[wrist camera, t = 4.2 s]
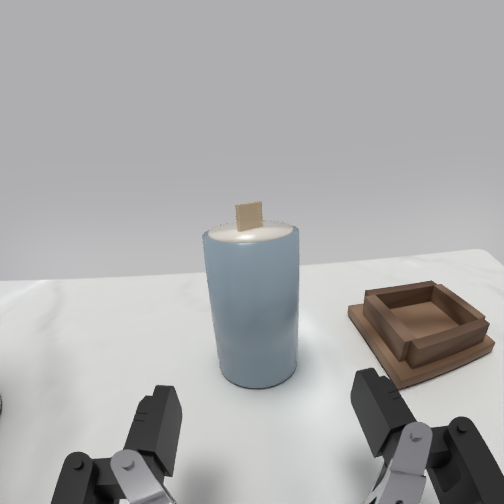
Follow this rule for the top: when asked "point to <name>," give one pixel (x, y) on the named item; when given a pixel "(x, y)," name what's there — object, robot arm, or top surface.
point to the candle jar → (254, 296)
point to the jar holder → (420, 330)
